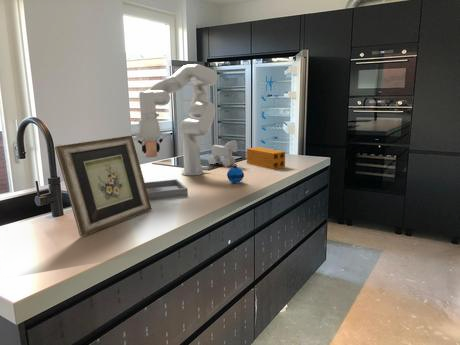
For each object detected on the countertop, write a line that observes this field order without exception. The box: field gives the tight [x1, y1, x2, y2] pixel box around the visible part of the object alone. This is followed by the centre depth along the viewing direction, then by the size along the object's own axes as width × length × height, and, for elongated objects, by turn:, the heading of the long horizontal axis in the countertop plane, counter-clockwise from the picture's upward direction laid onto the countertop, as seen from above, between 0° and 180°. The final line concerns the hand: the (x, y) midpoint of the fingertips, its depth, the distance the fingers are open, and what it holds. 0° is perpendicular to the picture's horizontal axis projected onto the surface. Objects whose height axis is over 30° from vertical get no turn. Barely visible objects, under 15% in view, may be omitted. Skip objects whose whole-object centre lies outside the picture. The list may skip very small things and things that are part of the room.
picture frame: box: [54, 135, 153, 237], centre depth 135 cm, size 33×10×30 cm, turn 148°
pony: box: [207, 139, 239, 168], centre depth 237 cm, size 20×10×17 cm, turn 58°
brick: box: [246, 146, 286, 170], centre depth 236 cm, size 26×10×10 cm, turn 35°
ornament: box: [226, 163, 245, 184], centre depth 191 cm, size 9×9×10 cm
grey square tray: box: [144, 178, 189, 201], centre depth 175 cm, size 20×20×4 cm
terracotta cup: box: [144, 139, 158, 158], centre depth 188 cm, size 6×6×8 cm
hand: (151, 152), depth 188 cm, fingers closed on terracotta cup, 6 cm apart
